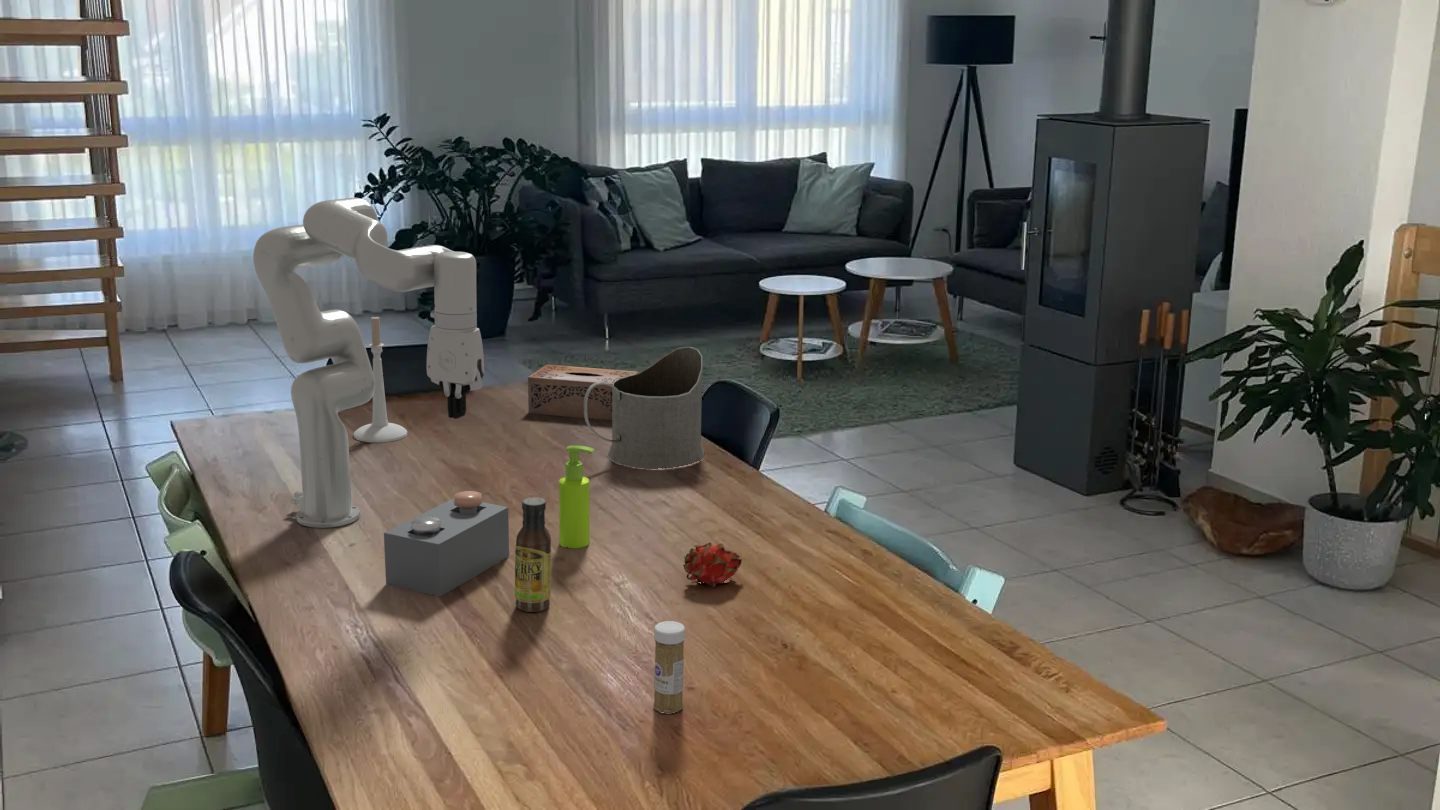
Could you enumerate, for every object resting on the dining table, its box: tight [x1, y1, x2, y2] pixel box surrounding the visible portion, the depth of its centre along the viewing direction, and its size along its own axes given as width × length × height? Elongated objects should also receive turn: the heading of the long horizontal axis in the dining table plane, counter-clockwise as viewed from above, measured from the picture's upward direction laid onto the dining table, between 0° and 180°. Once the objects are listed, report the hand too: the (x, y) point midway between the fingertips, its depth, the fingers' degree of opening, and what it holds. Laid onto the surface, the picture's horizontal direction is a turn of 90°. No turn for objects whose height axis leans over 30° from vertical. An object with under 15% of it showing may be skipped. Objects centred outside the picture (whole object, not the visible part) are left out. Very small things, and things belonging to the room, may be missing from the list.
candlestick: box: [353, 316, 408, 444], centre depth 335 cm, size 13×13×30 cm
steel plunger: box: [411, 517, 441, 537], centre depth 250 cm, size 5×5×8 cm
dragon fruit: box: [682, 542, 743, 588], centre depth 254 cm, size 8×8×12 cm
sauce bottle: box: [514, 496, 552, 613], centre depth 240 cm, size 6×6×20 cm
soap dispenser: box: [558, 445, 595, 549], centre depth 269 cm, size 6×7×20 cm
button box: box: [383, 497, 510, 597], centre depth 256 cm, size 12×22×10 cm, turn 155°
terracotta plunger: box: [453, 490, 483, 515], centre depth 261 cm, size 5×5×8 cm
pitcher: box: [584, 346, 705, 469], centre depth 323 cm, size 23×32×25 cm
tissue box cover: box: [527, 364, 639, 421], centre depth 364 cm, size 26×14×10 cm, turn 77°
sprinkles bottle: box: [653, 620, 686, 713], centre depth 206 cm, size 5×5×13 cm
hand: (456, 416), depth 256 cm, fingers closed
